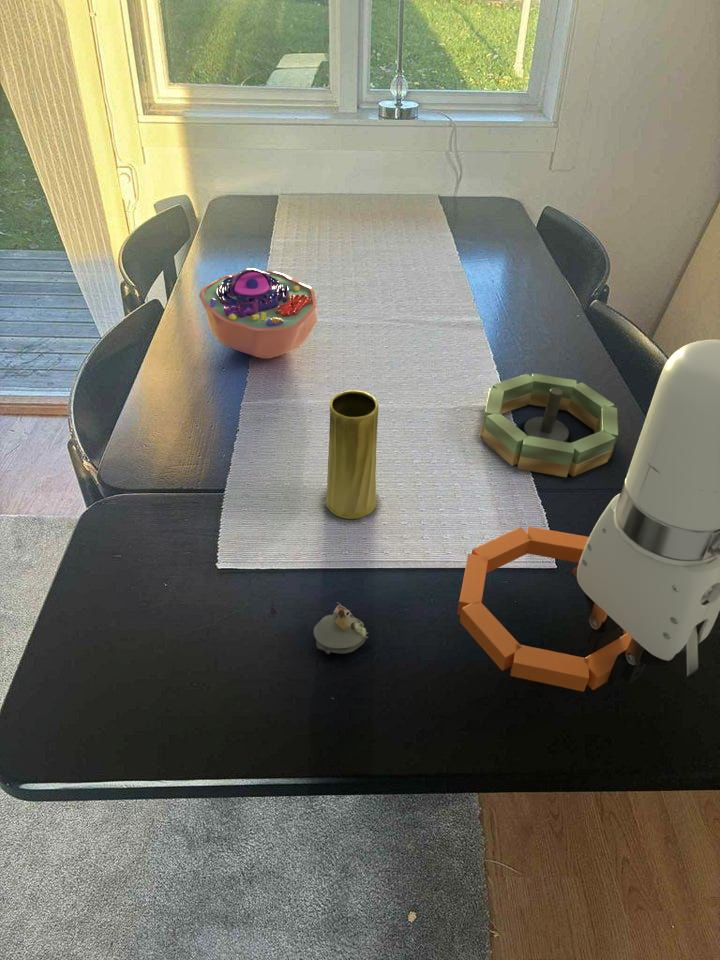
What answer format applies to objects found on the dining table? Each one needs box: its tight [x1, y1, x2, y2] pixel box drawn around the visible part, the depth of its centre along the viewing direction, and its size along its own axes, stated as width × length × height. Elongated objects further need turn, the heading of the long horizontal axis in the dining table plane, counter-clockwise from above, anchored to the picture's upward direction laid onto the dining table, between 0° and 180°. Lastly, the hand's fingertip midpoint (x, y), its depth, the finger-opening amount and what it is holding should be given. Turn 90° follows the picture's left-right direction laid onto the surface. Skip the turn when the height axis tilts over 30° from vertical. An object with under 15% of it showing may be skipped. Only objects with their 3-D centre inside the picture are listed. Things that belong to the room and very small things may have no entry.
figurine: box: [313, 602, 369, 655], centre depth 66 cm, size 5×4×6 cm
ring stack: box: [480, 373, 619, 478], centre depth 93 cm, size 17×17×7 cm
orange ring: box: [456, 526, 632, 692], centre depth 65 cm, size 17×17×2 cm
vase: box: [325, 390, 379, 520], centre depth 79 cm, size 6×6×14 cm
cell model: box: [198, 267, 318, 360], centre depth 107 cm, size 17×20×11 cm
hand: (610, 665), depth 61 cm, fingers closed on orange ring, 2 cm apart
